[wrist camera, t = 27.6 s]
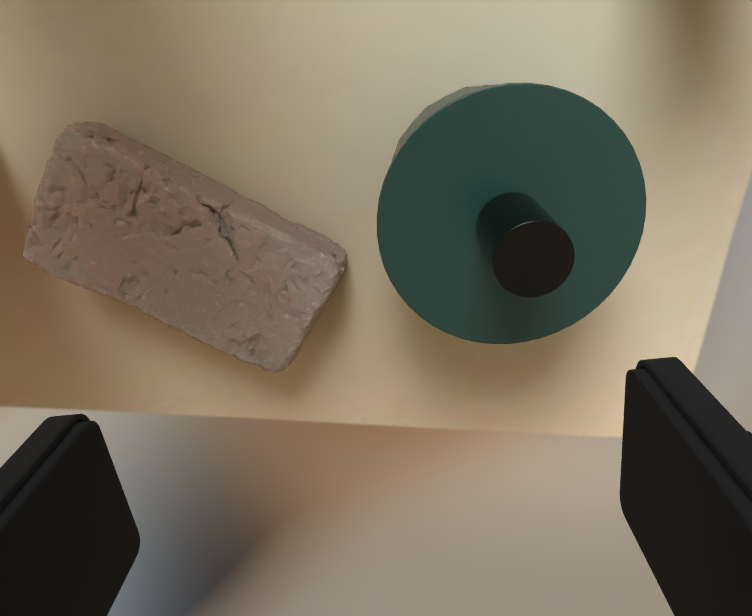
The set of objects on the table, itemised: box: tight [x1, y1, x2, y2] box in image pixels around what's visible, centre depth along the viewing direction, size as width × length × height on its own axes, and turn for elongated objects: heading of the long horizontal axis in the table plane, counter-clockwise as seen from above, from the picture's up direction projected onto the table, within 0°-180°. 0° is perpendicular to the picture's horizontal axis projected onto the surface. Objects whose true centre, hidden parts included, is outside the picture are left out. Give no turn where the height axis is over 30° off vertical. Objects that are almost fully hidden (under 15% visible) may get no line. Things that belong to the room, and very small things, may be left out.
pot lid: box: [377, 83, 646, 344], centre depth 26 cm, size 12×12×6 cm
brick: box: [23, 122, 347, 372], centre depth 34 cm, size 17×8×5 cm, turn 62°
